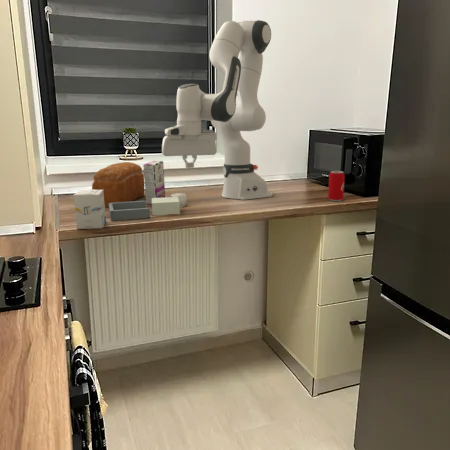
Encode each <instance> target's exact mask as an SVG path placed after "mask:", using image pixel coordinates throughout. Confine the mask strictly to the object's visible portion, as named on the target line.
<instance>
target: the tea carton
mask: <svg viewBox="0 0 450 450" xmlns="http://www.w3.org/2000/svg"><path fill="white" fill-rule="evenodd" d="M180 208H181V207H179V199H178V197H171V196H169V197H167V196H165V198H152V204H151V212H152V215H157V216H168V215H167V214H178V215H180V214H181V212H180V211H181V210H180ZM152 215H151V216H152Z"/></svg>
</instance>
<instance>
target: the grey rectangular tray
mask: <svg viewBox="0 0 450 450" xmlns="http://www.w3.org/2000/svg"><path fill="white" fill-rule="evenodd" d="M150 210H151V209H150V207H147V204H146V200H134V201H131V202H116V203H109V207H108V211H109V217H110V221H111V222H113V221H114V222H115V221H126V220H128V219H129V220H139V218H142V219H148V218H147V217H150V218H151V211H150Z"/></svg>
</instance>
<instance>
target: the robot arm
mask: <svg viewBox="0 0 450 450" xmlns="http://www.w3.org/2000/svg"><path fill="white" fill-rule="evenodd" d="M271 40H272V30H271V27H270V25H269V23H268V22H267V21H265V20H260V19H258V20H242V21H238V22H237V21H235V20H226V21H225V22H223V24H222V25H221V26H220V28H219V30H217V33H216V34H215V37H214V39H213V41H212V43H211V46H210V49H209V55H208V56H209V60H210V63H211V65H212V66H213V67H214V68H215V69H216V70H217V71H219V72H221V73H224V74H225V75H224V81H223V85H222V90H221V91H220V92H217V93H206V92H204V91H202V90H201V89H200V86H199V84H198V83H185V84H181V85H180V86H178V89H177V92H176V101H175V102H176V103H175V104H176V111H177V119H176V125H173V126H171V127H170V126H169V127H168V128H165V129H164V134H165V135H164V137H163V138H162V144H161V154H162V155H163V156H164V157H176V156H177V157H181V156H182V157H181V158H182V160H183V162H184V163H185V168H186V169H188V168H189V169H190V168H191V169H192V168H193V169H194V168H195V163H196V161H197V159H198V156H215V155H216V154H217V139H218V138H217V135H218V134H217V132H218V133H219V135H220V137H221V140H222V143H223V149H224V151H223V152H224V163H223V168H222V170H223V171H222V172H223V179H224V180H223V187H222V192H221V197H222V198H225V199H235V200H241V201H242V200H243V201H245V200H246V201H247V200H253V199H260V198H261V199H263V198H271V197H273V196H274V195H273V192H272V191H270V190H268V185H267V181H266V180H265V179H264V178H262V177H261V176H260V175H259V174H257V173H256V172H255V171H257V170H258V169H259V166H258V165H257V164H253V163H251V146H250V144H249V142H248V141H247V140H245V139H244V137H243V136H242V134H241V132H254V131H259V130H260V129H262V128H263V127H264V125H265V124H266V119H267V117H266V116H267V115H266V111H265V110H264V108H263V107H262V106H261V105H260V103H259V98H258V90H259V85H260V80H261V75H262V72H263V60H264V57H263V56H264V55H263V53H264V52H265V51H266V49H267V48H268V46H269V44H270V42H271ZM237 98H238V99H237ZM237 100H238V101H237ZM202 121H210V123H211V125H212V126H213V128H215V130H216V131H217V132H216V131H215V130H213V129H202ZM188 156H189V157H190V156H191V157H192V158H191V159H192V160H191V162H189V161H188V160H187V159H188Z"/></svg>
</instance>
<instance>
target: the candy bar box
mask: <svg viewBox="0 0 450 450" xmlns="http://www.w3.org/2000/svg"><path fill="white" fill-rule="evenodd" d="M164 166H165V165H164V160H152V161H149V162H146V163H144V164H143V166H142V167H143V175H144V194H145V202H146V205H152V198H166V188H165V187H166V186H165V167H164Z"/></svg>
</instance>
